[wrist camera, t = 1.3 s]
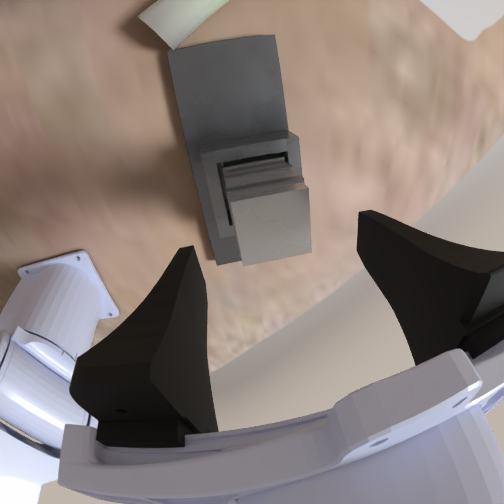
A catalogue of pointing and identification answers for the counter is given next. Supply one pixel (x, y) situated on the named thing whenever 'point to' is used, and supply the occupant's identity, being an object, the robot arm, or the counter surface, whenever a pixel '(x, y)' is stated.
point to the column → (267, 208)
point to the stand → (230, 120)
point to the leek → (178, 17)
